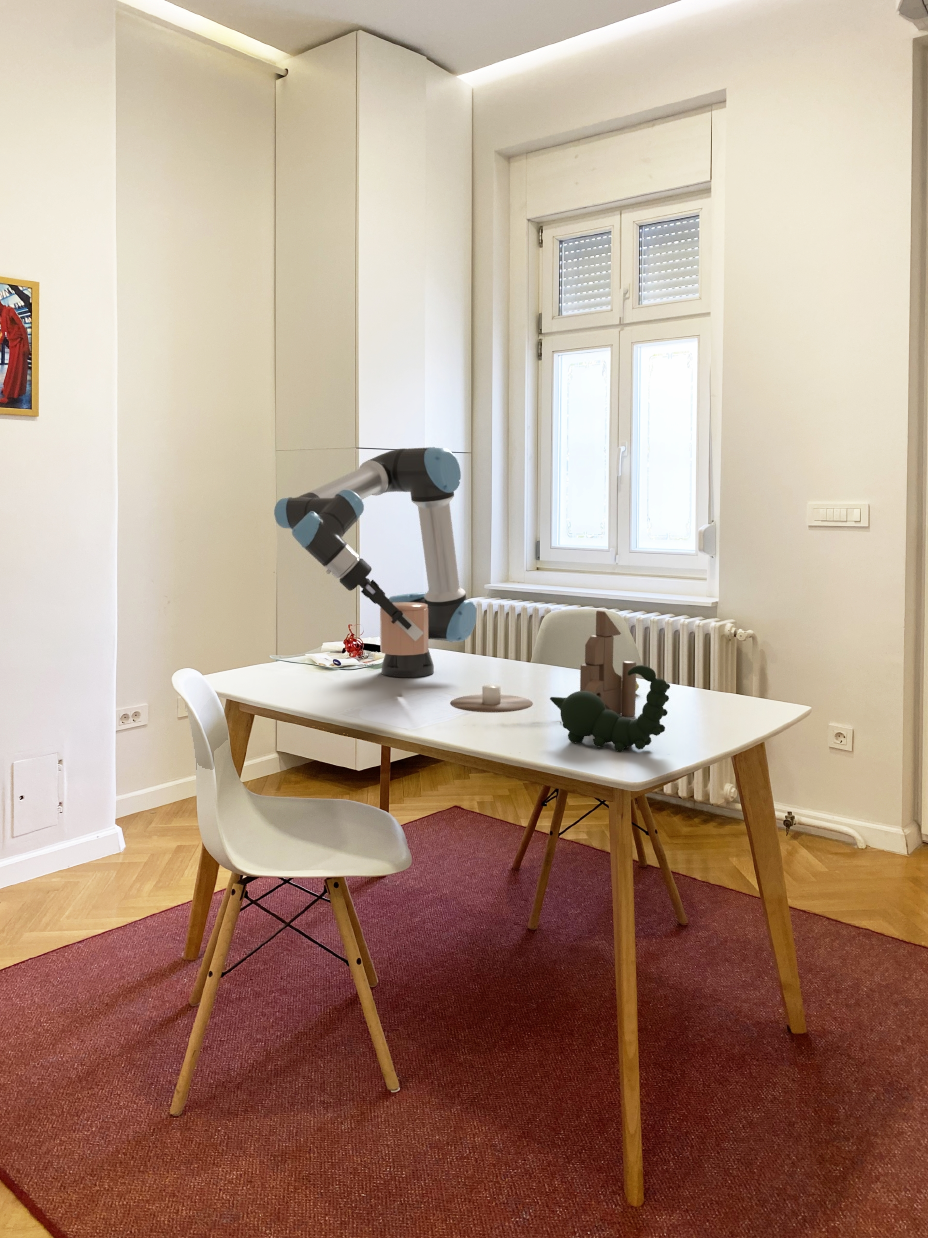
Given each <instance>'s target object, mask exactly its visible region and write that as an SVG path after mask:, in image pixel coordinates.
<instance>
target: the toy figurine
mask: <svg viewBox="0 0 928 1238" xmlns="http://www.w3.org/2000/svg"><path fill="white" fill-rule="evenodd" d="M632 674H636V675H638V676H639V675H640V676H641V677H642V678H643V679H644V680H645V681H647V682H648V683H649V682H650V685H649V691H648V693H647V694H646V696H645V697H646V702H645V703H644V704H643V707H642V710H641V711H642V713H640V714H639V715H638V717H637V718H635V719H631V718H630V717H626V716H622V717H621V715H620V714H619V715H618V714H617V713H616V712H614V711H612V710H609V709H606V707H605V704H604V702H603V701H602V700H601V698H600V697H598V696H597V695H596V694H594V693H592V692H589V691H580V690H579V691H575V692H572V693H570V694H568V696H567V697H559V696H550V697H549V700H550V701H551V702H552V703H553V704H554V705H555V706H556V707H557V708H558V709H559V710H560V718H561V723H562V727H563V728H564V729H565V730H567V731H568V734H567V739H568V740H569V742H571V743H573V744H580V743H582V742H583V741H584V739H585V737H591V736H593V739H592V743H593V745H594V746H595V748H596V747H597V748H602V747H604V746H605V744H608V743H612V744H613V745H614V746H613V748H614V749H615V751H616V752H618V753H621V752H624V749H625V748H630V747H632V746H633V745H634V748H636V749H637V750H643V749H644V748H645V747H646V746H649V745H651V743H652V738H651V735H653V736H655V737H657V736H659V735H661V734H663V733H664V732H666V727H665V725H663V724H661V720H662V718H663V717H666V716H667V715H668V710H667V708H664V705H665V704H666V703H668V701H670V700H669V699H670V698H669V695H667V694H666V693H667V691H668V690H670V688H671V686H670V685H671V684H670V683H667V681H666V680H665V679H663V678H660V677H659V678H658V677H657V674H656V672H655V670H654V669H653V668H652V667H649V666H647V665H643V664H640V665H638V664H636V666H634V667H633V668H631V669H630V670H629V671H628V675H629V676H630V675H632Z"/></svg>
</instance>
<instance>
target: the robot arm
mask: <svg viewBox="0 0 928 1238" xmlns="http://www.w3.org/2000/svg"><path fill="white" fill-rule="evenodd" d="M461 474H462V472H461V467H460V464H459V462H458V458H457V457H456V455H455V454H454V453H452V451H451V450H449V449H448V448H444V447H434V446H432V447H430V446H429V447H415V448H414V447H411V448H397V449H394V450H393V449H392V450H389V451H387V452H384V453H381V454H378V455H377V456H375V457H372V458H370V459H368V460H365V461H364V462H362V464H361V465H360V466H359V468H358V469H356V470H354V471H351V472H349V473H347V474H345V475H343V476H341V477H338V478H336V479H334V480H332V481H330V482H328V483H326V484H323V485H321V486H319V487H317V488H315V489H312V490H310V491H309V492H305V493H304V494H301V495H299V496H296V497H291V496H289V497H284V498H281V499H279V500H278V501H277V502H276V503H275V506H274V514H273V515H274V518H275V522H276V524H277V525H278V526H279V527H281V528H283V529H291V530H292V531H291V535H292V536H293V537H294V539H295V541H296V542H298V544H299V545H300V546H301V547H302V548H303V549H304V550H305V551H307V552H308V553H309V554H310V555H311V556H312V557H313V558H314V559H315V560H316V561H318V563H320V564H321V565H322V567H324V568H325V569H326V570H325V572H326V574H328V575H329V574H331V575H332V576H334V578H335V579H339V583H340V584H341V585H342V586H344V587H345V589H346V590H348V591H350V592H351V591H353V590H355V589H356V588H357V587H358V586H360V588H361V589H362V590H361V591H360V593H361V594H363V595H364V597H366V598H368V599H369V600H370V601H371V602H372V603H373V604H374V605H375V604H377V605H378V606H379V607H380V608H382V609H383V610H384V611H385V612H386V613H387V614H388V615H389V616H390V617H391V618H392V621H391V622H392V623H393V624H394V623H395V622H396V623H397V624H398V625H399V626H400V627H401V628H402V629H403V630H404V631H405V632H406V633H407V634H408V635H409V636H410V637H411V638H412V639H413V640H414V641H417V640H418V639H419V637H420V636H421V635H422V634H423V632H422V631H421V630H420V629H419V628H418V627H417V626H416V625H415V624H414V623H413V622H412V621H411V620H410V619H409V618H408V617H407V616H406V615H405V614H404V613H403V612H402V611H401V610H399V609H398V608H397V607H396V606H395V605H394V604H393V603H394V602H416V603H425V604H427V605H428V640H435V641H443V642H445V641H446V642H449V643H452V642H460V643H461V642H463V641H466V640H467V639H468V638H469V637H470V636H471V634H472V633H473V632H474V628H475V626H476V622H477V607H476V605H475V604H474V602H473V601H471V600H469V599H467V593H466V590H465V589H463V588H462V587H461V586H460V581H459V580H460V579H459V573H458V572H459V571H458V564H457V555H456V547H455V539H454V531H453V522H452V521H453V520H452V513H451V506H450V505H451V503H450V502H451V501H452V500H453V498H454V497H455V493H454V492H455V491H457V490H458V488H459V486H460V483H461V482H460V480H461V479H462V475H461ZM393 492H399V493H401V492H403V493H410V499H411V502H412V503H413V504H415V505H416V507H417V509H418V516H419V525H420V532H421V539H422V541H421V542H422V547H423V548H422V549H423V555H424V564H425V565H424V566H425V572H426V580H427V586H428V590H427V592H414V593H406V594H398V595H396V594H395V595H392V596H390V597H389V598H388V597H387V596H386V592H385V591H383V590H382V588H381V587H380V585H379V584H378V583H377V582H376V581H375V580H374V579H369V578H368V577H367V576H369V575H370V574H371V571H372V570H373V569H372V566H370V564H369V563H368V562H367V561H366V560H365V559H363V558H359V557H360V555H359V553H358V552H357V551H356V550H354V548H352V547H351V545H349V544H348V543H347V542H346V541H345V540H344V538H343V537H344V535H345V534H346V533H347V532H348V531H349V530H350V529H351V528H352V527H353V526H354V524H355V523H357V521H358V520H359V518H360V516H361V515H363V513H364V510H365V504H364V502H363V500H364V499H366V498H368V497H370V496H375V497H376V496H380V495H383V494H385V493H393ZM434 673H435V666H434V662H433V659H432V656H431V652H430V649H429V648H428V652H426V653H424V654H417V655H389V654H384V657H383V660H382V662H381V674H382V675H383V676H387V677H392V678H419V677H421V678H422V677H427V676H431V675H432V674H434Z"/></svg>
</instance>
